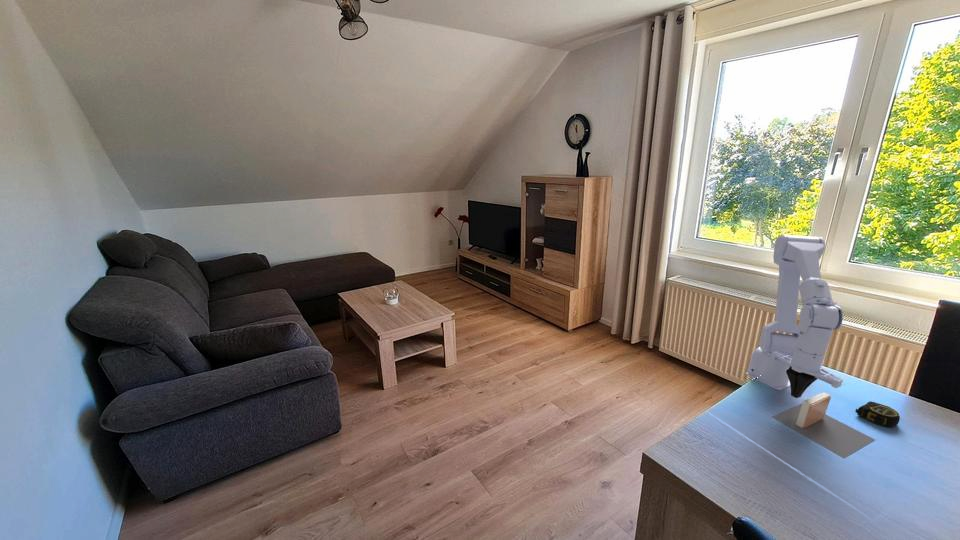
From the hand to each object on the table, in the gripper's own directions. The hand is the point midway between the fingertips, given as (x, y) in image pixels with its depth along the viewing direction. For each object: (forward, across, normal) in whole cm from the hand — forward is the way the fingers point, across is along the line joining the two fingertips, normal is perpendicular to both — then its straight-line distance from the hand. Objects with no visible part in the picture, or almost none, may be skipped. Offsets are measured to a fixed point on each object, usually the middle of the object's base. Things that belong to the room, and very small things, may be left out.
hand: (795, 396), depth 98 cm
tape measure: (+6, +10, +17) cm, 20 cm away
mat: (+5, +7, 0) cm, 8 cm away
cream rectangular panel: (+5, +4, 0) cm, 6 cm away
